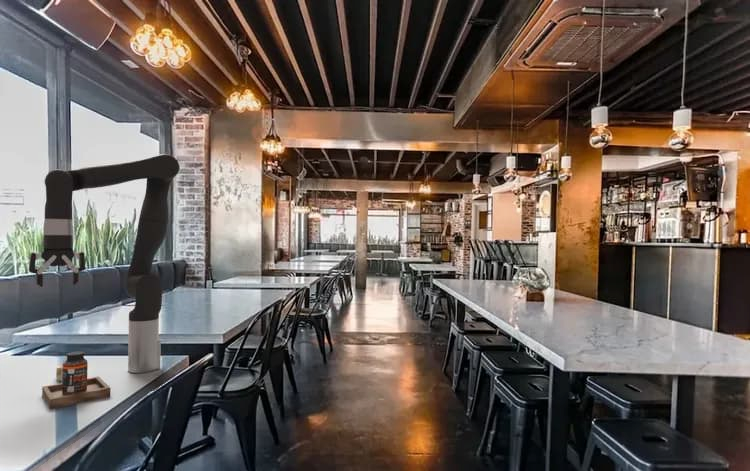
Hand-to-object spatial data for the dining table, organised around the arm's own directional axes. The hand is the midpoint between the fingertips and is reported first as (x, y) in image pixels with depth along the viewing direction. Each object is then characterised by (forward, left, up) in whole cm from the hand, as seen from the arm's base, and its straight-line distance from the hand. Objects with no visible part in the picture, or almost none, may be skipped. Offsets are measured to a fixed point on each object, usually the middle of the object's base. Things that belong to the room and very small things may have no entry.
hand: (57, 285), depth 140 cm
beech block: (-3, -3, -30) cm, 31 cm away
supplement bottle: (-2, +19, -29) cm, 35 cm away
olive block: (-4, +4, -26) cm, 26 cm away
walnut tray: (-2, +19, -30) cm, 36 cm away
